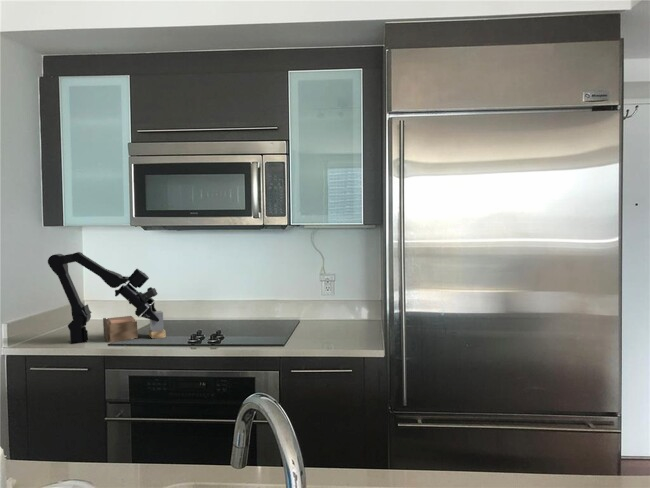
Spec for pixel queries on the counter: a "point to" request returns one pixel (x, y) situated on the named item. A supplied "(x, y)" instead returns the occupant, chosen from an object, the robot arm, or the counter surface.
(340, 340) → the counter surface
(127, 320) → the terracotta flap
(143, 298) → the robot arm
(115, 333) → the walnut frame
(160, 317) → the granite block
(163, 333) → the oak plinth
